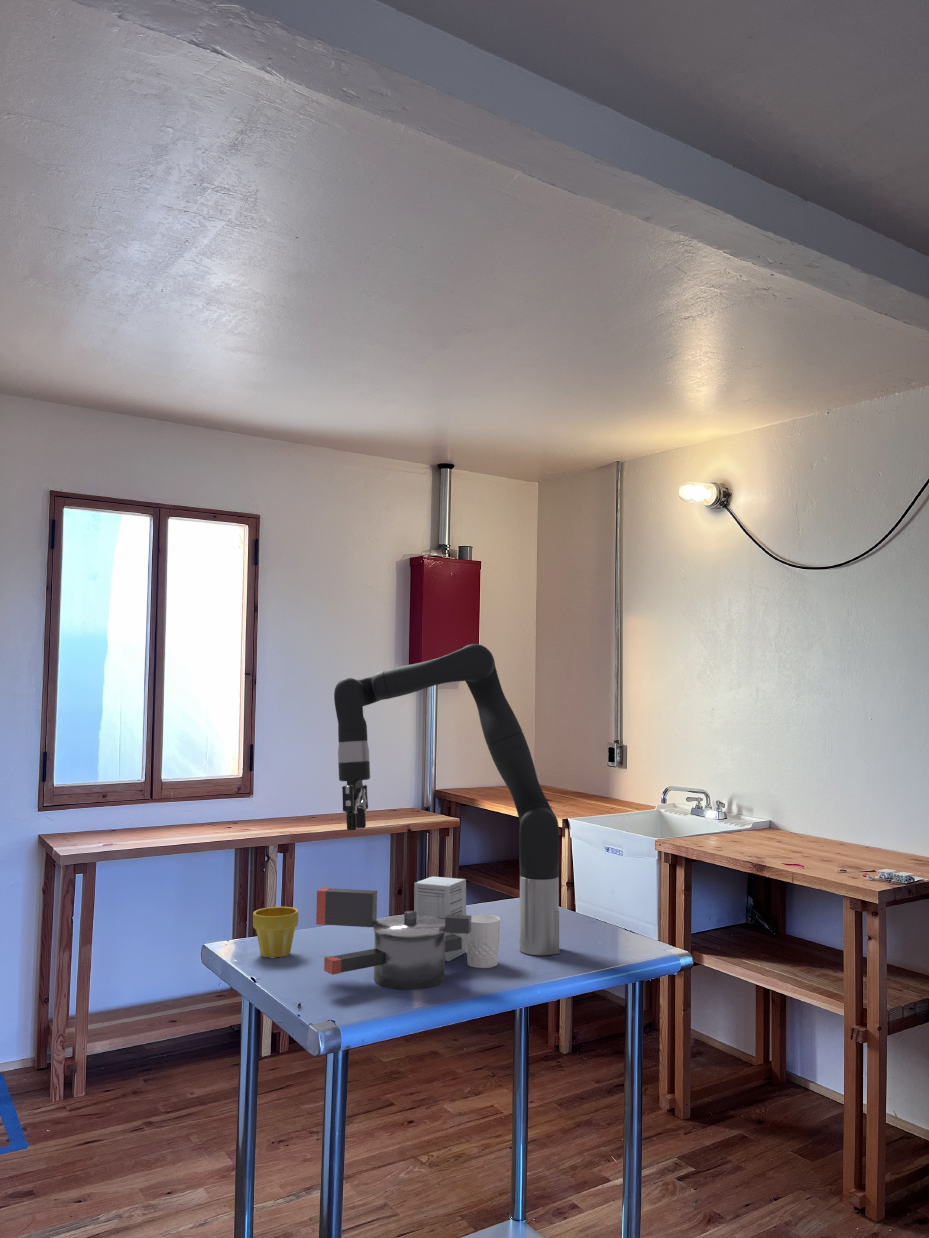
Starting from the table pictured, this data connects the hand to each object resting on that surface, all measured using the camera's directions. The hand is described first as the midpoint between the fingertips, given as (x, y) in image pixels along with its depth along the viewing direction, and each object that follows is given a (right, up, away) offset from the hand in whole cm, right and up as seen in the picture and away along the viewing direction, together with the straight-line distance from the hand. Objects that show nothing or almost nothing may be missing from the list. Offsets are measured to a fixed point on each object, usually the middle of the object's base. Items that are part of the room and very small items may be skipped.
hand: (356, 829), depth 219 cm
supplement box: (+20, -28, -7) cm, 35 cm away
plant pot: (-18, -27, -8) cm, 34 cm away
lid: (+11, -15, -24) cm, 31 cm away
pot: (+11, -25, -28) cm, 39 cm away
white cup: (+30, -27, -15) cm, 43 cm away
